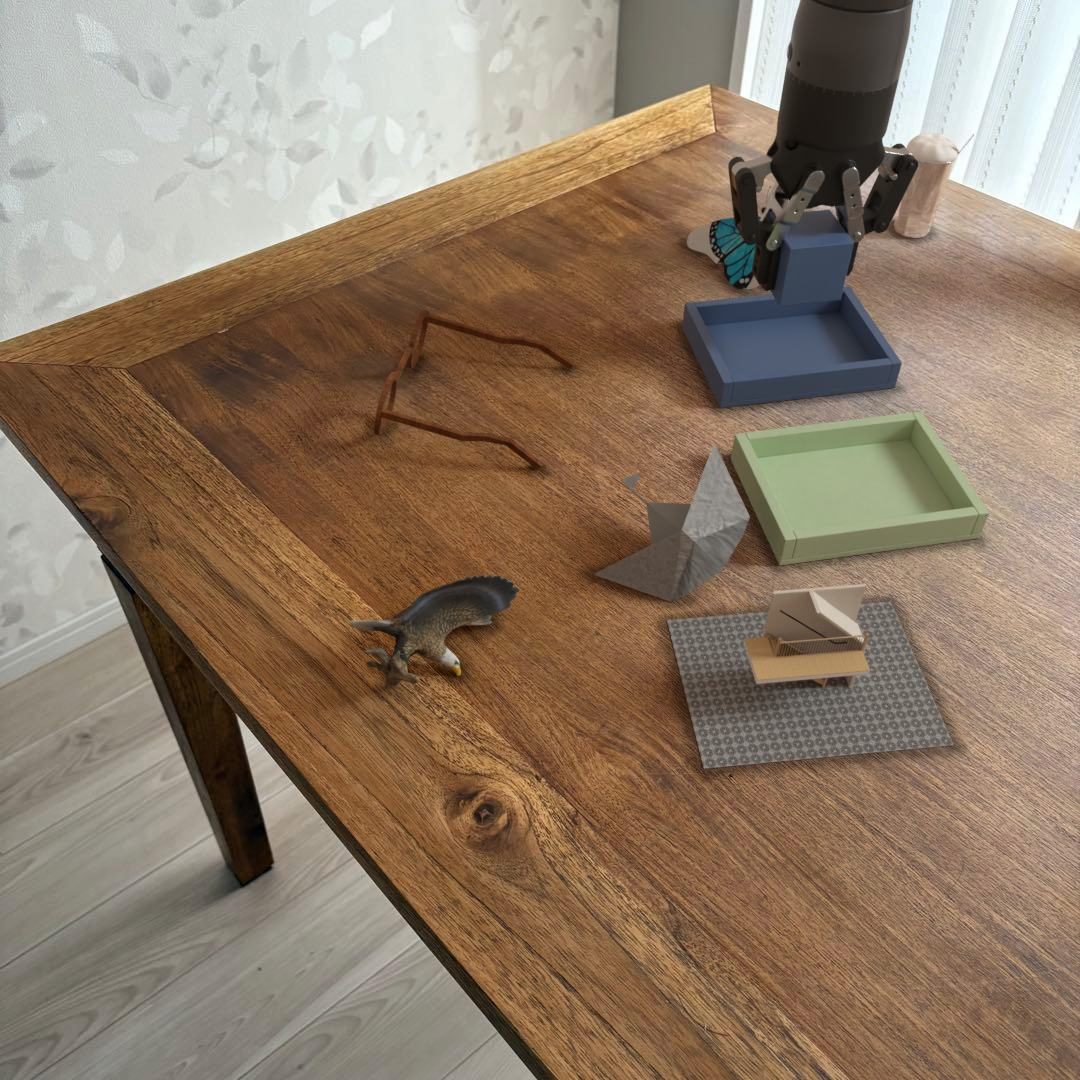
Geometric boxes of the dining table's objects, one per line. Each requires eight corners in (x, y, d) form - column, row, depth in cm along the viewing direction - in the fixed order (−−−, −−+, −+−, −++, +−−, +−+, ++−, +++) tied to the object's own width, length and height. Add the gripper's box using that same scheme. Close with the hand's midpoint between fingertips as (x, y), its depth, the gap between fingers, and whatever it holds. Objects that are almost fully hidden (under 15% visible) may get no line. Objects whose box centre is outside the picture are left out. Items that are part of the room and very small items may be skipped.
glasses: (420, 348, 93) (416, 296, 89) (574, 367, 91) (576, 316, 87) (372, 449, 84) (365, 397, 80) (542, 473, 82) (542, 421, 78)
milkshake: (941, 247, 104) (971, 145, 97) (883, 237, 105) (909, 135, 98) (946, 224, 107) (976, 123, 100) (890, 214, 108) (915, 114, 101)
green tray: (913, 436, 85) (921, 410, 83) (979, 538, 77) (990, 512, 75) (730, 459, 83) (734, 433, 81) (779, 565, 75) (785, 540, 74)
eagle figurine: (455, 727, 65) (545, 615, 68) (382, 645, 61) (481, 532, 65) (388, 707, 71) (474, 605, 74) (319, 630, 67) (412, 528, 71)
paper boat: (654, 632, 70) (551, 536, 72) (664, 641, 76) (569, 552, 78) (785, 492, 70) (677, 400, 72) (784, 512, 76) (685, 427, 78)
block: (818, 265, 89) (830, 208, 85) (840, 300, 86) (854, 242, 82) (758, 271, 88) (768, 214, 85) (779, 306, 85) (790, 248, 81)
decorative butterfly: (736, 266, 94) (697, 185, 99) (720, 318, 100) (684, 238, 104) (844, 250, 96) (801, 170, 101) (822, 301, 102) (783, 223, 106)
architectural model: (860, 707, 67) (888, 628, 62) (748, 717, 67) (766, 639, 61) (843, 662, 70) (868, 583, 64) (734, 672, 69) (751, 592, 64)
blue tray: (843, 310, 97) (849, 285, 95) (895, 388, 89) (902, 362, 87) (681, 327, 95) (684, 302, 93) (719, 408, 87) (723, 383, 85)
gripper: (759, 94, 71) (726, 318, 83) (968, 78, 73) (905, 299, 85) (724, 48, 76) (697, 265, 88) (920, 34, 78) (867, 248, 90)
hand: (800, 281), depth 87 cm, fingers closed on block, 5 cm apart
